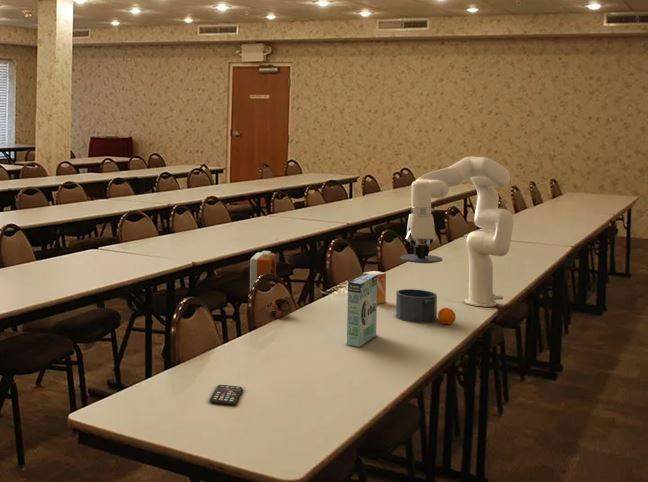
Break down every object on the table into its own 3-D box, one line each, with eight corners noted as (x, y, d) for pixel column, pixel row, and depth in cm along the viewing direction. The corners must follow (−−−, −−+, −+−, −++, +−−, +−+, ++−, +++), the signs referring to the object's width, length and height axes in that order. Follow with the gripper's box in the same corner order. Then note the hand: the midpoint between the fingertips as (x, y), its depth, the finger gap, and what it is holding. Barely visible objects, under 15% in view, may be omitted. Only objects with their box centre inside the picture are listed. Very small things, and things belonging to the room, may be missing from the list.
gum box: (364, 333, 311) (364, 272, 310) (377, 335, 308) (378, 274, 307) (346, 345, 295) (346, 281, 295) (360, 347, 292) (360, 283, 292)
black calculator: (242, 386, 248) (234, 403, 234) (242, 389, 248) (234, 405, 234) (218, 384, 250) (209, 400, 236) (218, 386, 250) (209, 402, 236)
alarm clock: (269, 301, 363) (269, 254, 363) (249, 299, 366) (249, 253, 366) (275, 292, 380) (276, 248, 380) (256, 291, 383) (257, 247, 383)
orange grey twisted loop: (291, 314, 342) (295, 299, 337) (286, 329, 334) (290, 314, 330) (263, 304, 345) (266, 290, 341) (258, 319, 337) (261, 304, 333)
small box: (374, 304, 357) (374, 274, 357) (362, 302, 362) (362, 272, 362) (386, 302, 361) (386, 272, 361) (374, 299, 366) (374, 270, 366)
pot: (421, 311, 346) (421, 287, 345) (447, 323, 325) (447, 298, 325) (386, 312, 344) (387, 288, 344) (410, 324, 323) (410, 299, 323)
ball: (450, 322, 328) (450, 306, 328) (458, 326, 321) (458, 309, 321) (434, 322, 327) (435, 306, 327) (443, 326, 321) (443, 310, 321)
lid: (429, 256, 347) (429, 240, 347) (450, 263, 331) (450, 247, 330) (393, 257, 345) (393, 241, 345) (412, 264, 329) (412, 248, 328)
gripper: (435, 209, 342) (435, 253, 342) (397, 210, 340) (398, 254, 340) (444, 211, 335) (444, 256, 335) (406, 212, 333) (406, 258, 333)
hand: (421, 255), depth 338 cm, fingers closed on lid, 3 cm apart
